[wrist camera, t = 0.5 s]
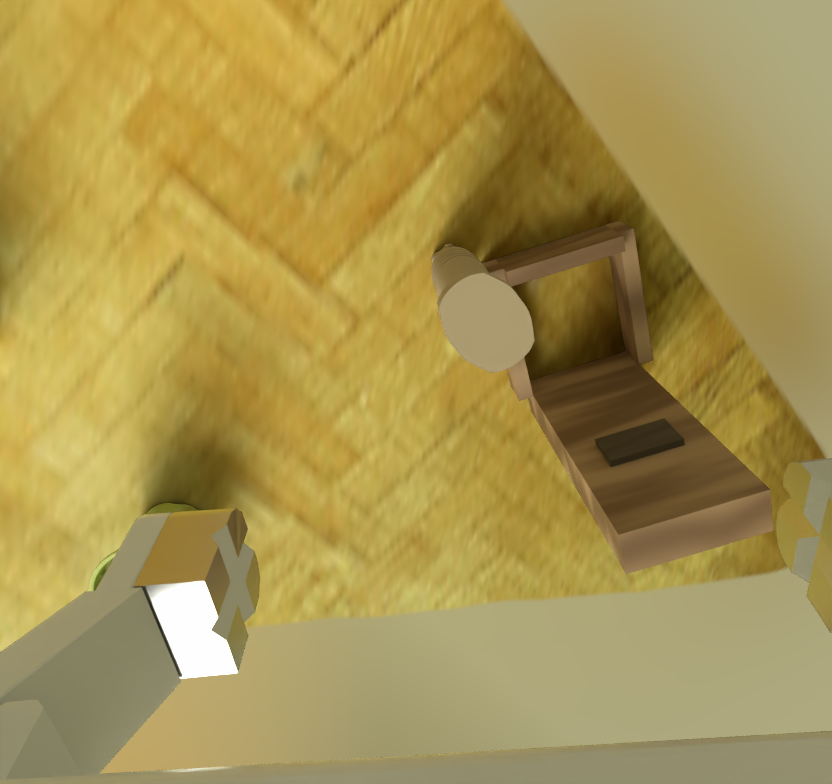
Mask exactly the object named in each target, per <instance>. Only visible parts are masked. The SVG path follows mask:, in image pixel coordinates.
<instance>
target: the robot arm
mask: <svg viewBox="0 0 832 784" xmlns="http://www.w3.org/2000/svg"><path fill="white" fill-rule="evenodd" d="M783 486H784V488H785V489H786V490H787V492H788V493H789V495H790V496H791V497H790V498H789V499H788V500H787V501H786V502H785V503H784V504H783V505H782V506H781V507H780V508H779V509H778V515H777V522H776V533H777V540H778V546H779V549H780V551H781V554H782V557H783V559H784V561H785V563H786V564H787V566H788V567H789V569H790V571H791V572H792V573H793V574H795V575H797V576H798V577H800V578H802V579H804V580H805V581H807V582H809V586H808V591H807V598H808V599H809V601H810V602H811V604H812V605H813V607H814V608H815V610H816V611H817V613H818V614H819V616H820V617H821V619H822V621H823V622H824V624H825V625H826V627H827V628H828V630H829V631H830V633H832V458H830V459H819V460H807V461H796V462H790V464H789V466H788V467H787V469H786V471H785V475H784V480H783ZM247 529H248V528H247V525H246V523H245V520H244V517H243V514H242V512H241V511H239V510H238V509H237V508H232V509H216V510H200V511H184V512H174V513H158V514H145V515H142V516H140V517H139V518H137V519H136V520H135V521H134V523H133V525H132V527H131V528H130V530H129V532H128V534H127V535H126V537H125V539H124V541H123V542H122V544H121V546H120V548H119V550H118V551H117V553H116V555H115V557H114V558H113V560H112V562H111V564H110V566H109V567H108V569H107V571H106V573H105V574H104V576H103V578H102V580H101V581H100V583H99V585H98V587H97V589H96V590H95V591H87V592H84V593H83V594H81V595H80V596H79V597H77V598H76V599H74V600H73V601H72V602H70V603H69V604H67V605H66V606H65V607H63V608H62V609H60V610H59V611H58V612H56V613H55V614H53V615H52V616H51V617H49V618H48V619H46V620H45V621H44V622H42V623H41V624H39V625H38V626H36V627H35V628H34V629H32V630H31V631H29V632H28V633H27V634H25V635H24V636H22V637H21V638H20V639H18V640H17V641H15V642H14V643H13V644H11V645H10V646H8V647H7V648H6V649H4V650H3V651H1V652H0V784H832V731H821V732H804V733H788V734H770V735H752V736H735V737H718V738H701V739H683V740H666V741H651V742H650V741H648V742H634V743H633V742H632V743H615V744H598V745H583V746H582V745H581V746H566V747H565V746H564V747H548V748H531V749H513V750H497V751H479V752H463V753H445V754H428V755H412V756H395V757H379V758H360V759H344V760H327V761H309V762H293V763H275V764H258V765H241V766H224V767H208V768H190V769H174V770H156V771H140V772H123V773H105V774H99V773H100V772H101V771H102V770H103V769H104V767H105V766H106V765H107V764H108V763H109V762H110V761H111V759H112V758H113V757H114V756H115V755H116V754H117V753H118V752H119V751H120V750H121V748H122V747H123V746H124V745H125V744H126V743H127V742H128V741H129V739H130V738H131V737H132V736H133V735H134V734H135V733H136V732H137V731H138V729H139V728H140V727H141V726H142V725H143V724H144V723H145V721H146V720H147V719H148V718H149V717H150V716H151V715H152V714H153V713H154V711H155V710H156V709H157V708H158V707H159V706H160V705H161V704H162V703H163V701H164V700H165V699H166V698H167V697H168V696H169V695H170V693H171V692H172V691H173V690H174V689H175V688H176V687H177V686H178V685H179V683H180V682H181V679H180V678H190V677H200V676H211V675H221V674H232V673H238V670H239V667H240V663H241V660H242V656H243V653H244V649H245V646H246V642H247V639H248V633H247V630H246V627H245V624H244V622H245V621H246V620H247V619H248V618H249V617H250V616H251V615H253V614H254V613H255V610H256V606H257V602H258V598H259V585H260V575H259V568H258V562H257V558H256V555H255V551H254V550H252V549H251V548H250V547H249V546H247V545H246V544H245V543H243V542H244V539H245V536H246V533H247Z"/></svg>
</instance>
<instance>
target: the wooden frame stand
mask: <svg viewBox="0 0 832 784" xmlns="http://www.w3.org/2000/svg"><path fill="white" fill-rule="evenodd" d="M609 256H610V262H611V268H612V274H613V280H614V286H615V292H616V298H617V304H618V310H619V316H620V322H621V328H622V334H623V340H624V346H625V352H621V353H618V354H615V355H611V356H608V357H605V358H602V359H598V360H595V361H592V362H588V363H585V364H582V365H579V366H575V367H572V368H569V369H566V370H562V371H559V372H556V373H552V374H549V375H546V376H543V377H539V378H536V379H533V380H530V379H529V375H528V371H527V367H526V362H525V358H523V359H521V360H520V361H519V362H518V363H517V364H515V365H513V366H512V367H510V368H508V369H507V371H508V375H509V379H510V383H511V387H512V388H513V390H514V392H515V394H516V395H517V397H518V399H519V401H521V400H524V399H527V398H529V402H530V407H531V411H532V413H533V415H534V416H535V418H536V420H537V422H538V423H539V425H540V427H541V428H542V430H543V432H544V434H545V435H546V437H547V439H548V441H549V442H550V444H551V446H552V447H553V449H554V451H555V453H556V454H557V456H558V458H559V459H560V461H561V463H562V465H563V466H564V468H565V470H566V472H567V473H568V475H569V477H570V478H571V480H572V482H573V484H574V485H575V487H576V489H577V491H578V492H579V494H580V496H581V497H582V499H583V501H584V503H585V504H586V506H587V508H588V509H589V511H590V513H591V515H592V516H593V518H594V520H595V522H596V523H597V525H598V527H599V528H600V530H601V532H602V534H603V535H604V537H605V539H606V540H607V542H608V544H609V546H610V547H611V549H612V551H613V553H614V554H615V556H616V558H617V559H618V561H619V563H620V565H621V566H622V568H623V570H624V571H625V573H626V574H629V573H632V572H635V571H639V570H642V569H645V568H649V567H652V566H656V565H659V564H662V563H666V562H669V561H672V560H676V559H679V558H682V557H686V556H689V555H693V554H696V553H699V552H703V551H706V550H709V549H713V548H716V547H719V546H723V545H726V544H730V543H733V542H736V541H740V540H743V539H746V538H750V537H753V536H757V535H760V534H763V533H767V532H770V531H773V520H772V506H771V492H770V489H769V488H768V487H767V486H766V485H765V484H764V483H763V482H762V481H761V480H760V479H759V478H758V477H757V476H756V475H754V474H753V473H752V472H751V471H750V470H749V469H748V468H747V467H746V466H745V465H744V464H743V463H742V462H741V461H740V460H739V459H738V458H737V457H736V456H735V455H734V454H732V453H731V452H730V451H729V450H728V449H727V448H726V447H725V446H724V445H723V444H722V443H721V442H720V441H719V440H718V439H717V438H716V437H715V436H714V435H713V434H712V433H710V432H709V431H708V430H707V429H706V428H705V427H704V426H703V425H702V424H701V423H700V422H699V421H698V420H697V419H696V418H695V417H694V416H693V415H692V414H691V413H690V412H688V411H687V410H686V409H685V408H684V407H683V406H682V405H681V404H680V403H679V402H678V401H677V400H676V399H675V398H674V397H673V396H672V395H671V394H670V393H669V392H667V391H666V390H665V389H664V388H663V387H662V386H661V385H660V384H659V383H658V382H657V381H656V380H655V379H654V378H653V377H652V376H651V375H650V374H649V373H648V372H647V371H645V370H644V369H643V368H642V367H641V366H640V365H639V364H642V363H645V362H649V361H652V360H653V355H652V348H651V341H650V335H649V328H648V321H647V314H646V308H645V301H644V294H643V287H642V280H641V274H640V267H639V260H638V253H637V246H636V240H635V233H634V228H632V227H630V226H628V225H626V224H625V223H623V222H621V221H617V222H613V223H610V224H607V225H604V226H600V227H597V228H594V229H591V230H588V231H584V232H581V233H578V234H575V235H571V236H568V237H565V238H562V239H559V240H555V241H552V242H549V243H546V244H542V245H539V246H536V247H533V248H530V249H526V250H523V251H520V252H517V253H513V254H510V255H507V256H504V257H500V258H497V259H494V260H491V261H488V262H484V263H482V264H483V265H484V266H485V268H486V269H487V271H488V272H489V273H491V274H493V275H495V276H497V277H499V278H500V279H502V280H504V281H506V282H507V283H508V284H509V285H510V286H511V287H512V286H515V285H518V284H521V283H525V282H528V281H531V280H534V279H538V278H541V277H544V276H547V275H551V274H554V273H557V272H560V271H564V270H567V269H570V268H573V267H576V266H580V265H583V264H586V263H589V262H593V261H596V260H599V259H602V258H606V257H609Z"/></svg>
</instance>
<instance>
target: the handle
mask: <svg viewBox="0 0 832 784" xmlns="http://www.w3.org/2000/svg"><path fill="white" fill-rule="evenodd" d="M432 262H433V264H432V279H433V283H434V287H435V289H436V292H437V294H438V296H439V299H438V302H437V304H438V310H439V315H440V319H441V324H442V327H443V330H444V333H445V335H446V337H447V339H448V340H449V342H450V343H451V344H452V345H453V347H454V348H455V349H456V350H457V352H458V353H459V354H460V355H461V356H462V357H463V358H464V359H465V360H466V361H468V362H469V363H471V364H473V365H475V366H477V367H479V368H482V369H484V370H486V371H489V372H499V371H503V370H506V369H508V368H510V367H512V366H513V365H515V364H517V363H518V362H519V361H520V360H521V359H523V358H524V357H525V356H526V354H527V353H528V352H529V351H530V349H531V347H532V345H533V343H534V341H535V340H534V332H533V326H532V320H531V316H530V313H529V311H528V309H527V307H526V306H525V304H524V303H523V302H522V300H521V299H520V298H519V296H518V295H517V293H516V292H515V291H514V290H513V288H512V287H511V286H510V285H509V284H508V283H507V282H506V281H504V280H502V279H500V278H499V277H497V276H495V275H493V274H491V273H489V272H488V271H487V269H486V268H485V266H484V265H483V264H482V263H481V261H480V260H479V259H478V258H477V257H476V256H475V255H474V254H472V253H471V252H470V251H468V250H467V249H465V248H461V247H455V246H453V245H452V244H450V243H449V244H445V245H444V247H443V248H442V249H441V250H440V251H439V252H436V253H434V254H433V256H432Z"/></svg>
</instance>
